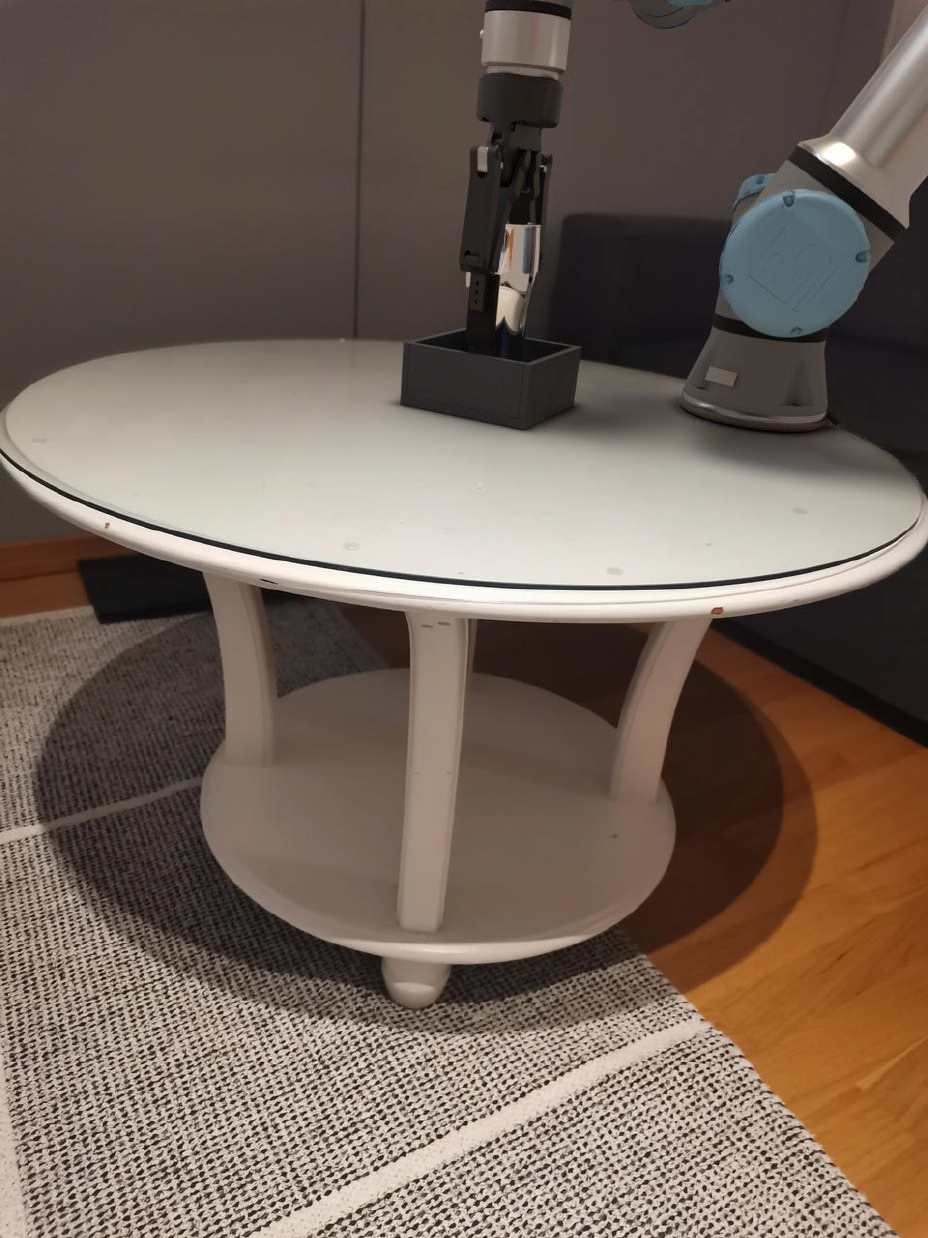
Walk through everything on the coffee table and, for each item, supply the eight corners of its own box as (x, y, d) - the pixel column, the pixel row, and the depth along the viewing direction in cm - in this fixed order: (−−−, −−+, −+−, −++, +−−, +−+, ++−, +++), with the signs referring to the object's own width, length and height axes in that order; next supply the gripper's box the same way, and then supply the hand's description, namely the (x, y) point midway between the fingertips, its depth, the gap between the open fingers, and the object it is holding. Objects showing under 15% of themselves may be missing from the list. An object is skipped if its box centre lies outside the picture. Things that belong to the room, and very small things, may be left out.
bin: (574, 404, 99) (582, 346, 96) (523, 430, 88) (531, 365, 85) (460, 382, 104) (465, 326, 101) (399, 404, 93) (403, 341, 90)
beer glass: (523, 377, 98) (541, 222, 91) (526, 392, 92) (545, 226, 85) (457, 371, 98) (470, 215, 91) (455, 386, 92) (469, 219, 85)
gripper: (527, 84, 93) (502, 324, 103) (431, 58, 76) (413, 347, 86) (599, 88, 90) (566, 335, 100) (515, 63, 73) (487, 361, 84)
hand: (495, 340), depth 93 cm, fingers closed on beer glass, 7 cm apart
